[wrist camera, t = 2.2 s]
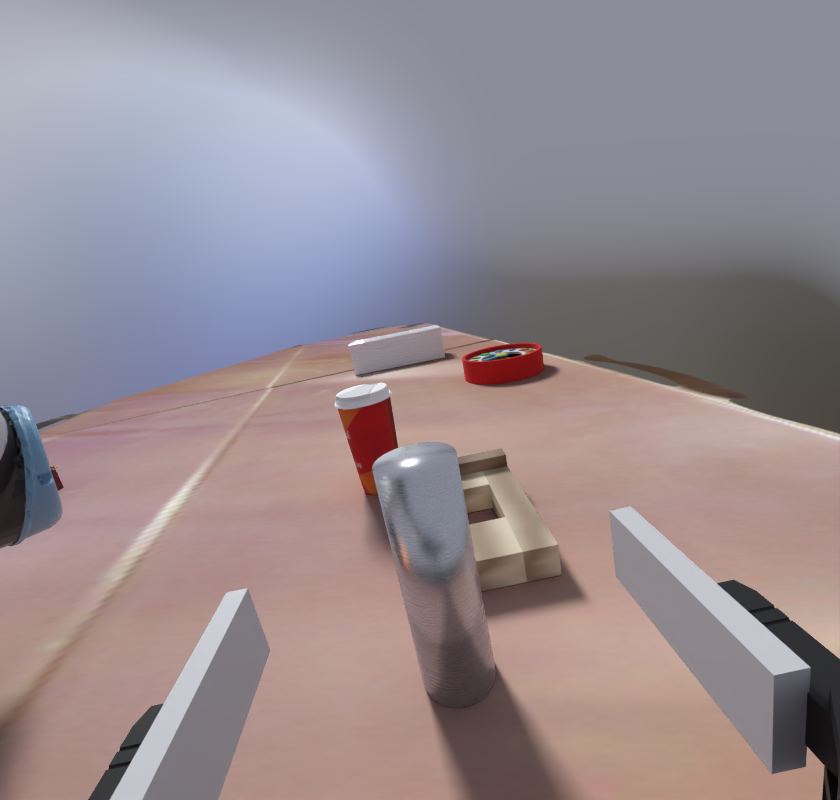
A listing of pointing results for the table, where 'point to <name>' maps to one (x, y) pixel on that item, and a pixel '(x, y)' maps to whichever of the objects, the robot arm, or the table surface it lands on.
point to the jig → (505, 525)
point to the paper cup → (367, 427)
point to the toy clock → (503, 363)
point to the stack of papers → (397, 349)
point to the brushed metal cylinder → (437, 570)
